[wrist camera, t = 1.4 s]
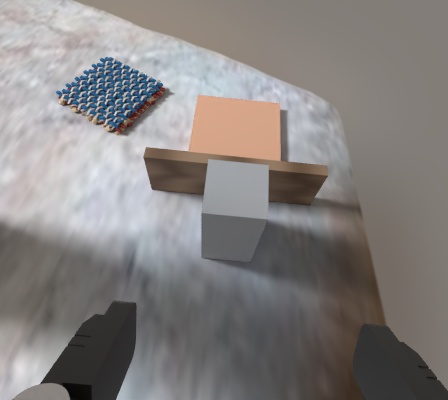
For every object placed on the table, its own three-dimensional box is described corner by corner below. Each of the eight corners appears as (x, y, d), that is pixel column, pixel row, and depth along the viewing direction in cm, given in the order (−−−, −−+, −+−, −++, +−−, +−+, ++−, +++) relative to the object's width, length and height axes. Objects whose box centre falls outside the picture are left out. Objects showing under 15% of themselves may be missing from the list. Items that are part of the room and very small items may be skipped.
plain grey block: (201, 257, 32) (201, 213, 24) (206, 212, 35) (208, 156, 26) (250, 262, 32) (268, 219, 24) (252, 216, 35) (268, 162, 26)
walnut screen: (151, 189, 36) (143, 157, 31) (153, 180, 36) (146, 147, 31) (309, 205, 36) (328, 175, 31) (309, 195, 37) (327, 165, 31)
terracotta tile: (187, 166, 38) (186, 161, 37) (198, 100, 43) (198, 94, 42) (279, 175, 38) (280, 171, 37) (278, 109, 43) (279, 103, 42)
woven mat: (119, 141, 39) (115, 130, 38) (57, 105, 42) (50, 93, 40) (170, 93, 44) (168, 82, 42) (111, 63, 46) (108, 51, 45)
